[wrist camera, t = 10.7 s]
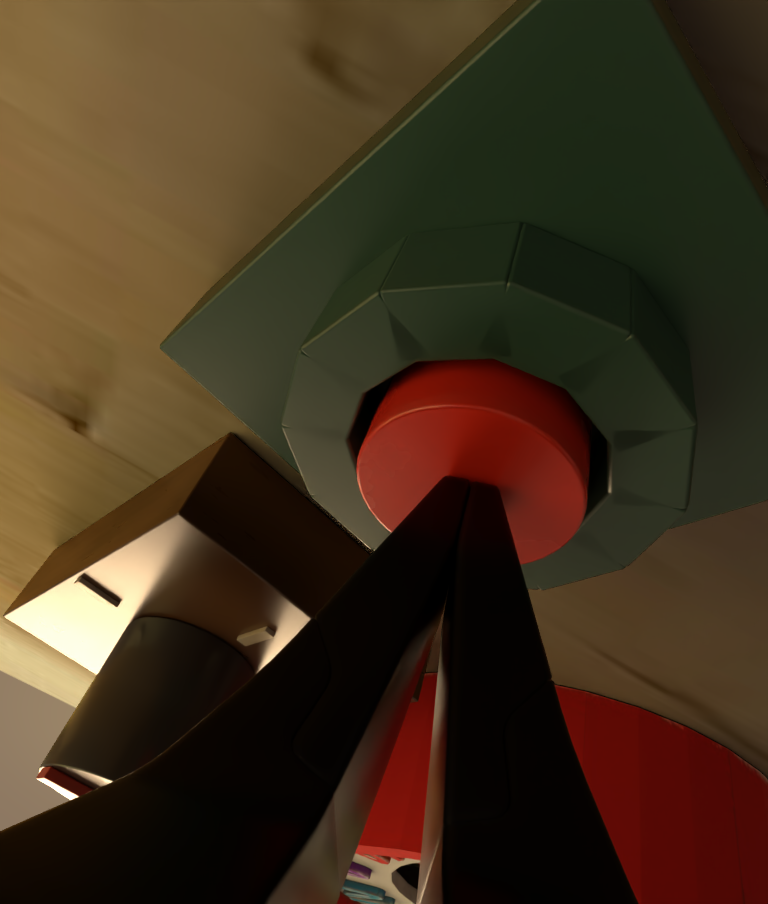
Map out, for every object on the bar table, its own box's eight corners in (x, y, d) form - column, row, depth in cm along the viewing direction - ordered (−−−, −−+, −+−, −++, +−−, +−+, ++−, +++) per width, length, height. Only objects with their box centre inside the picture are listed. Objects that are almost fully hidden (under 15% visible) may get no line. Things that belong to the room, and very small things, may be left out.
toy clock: (458, 806, 16) (981, 1080, 20) (493, 605, 20) (922, 867, 24) (200, 870, 30) (542, 1024, 34) (252, 743, 34) (551, 895, 38)
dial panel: (230, 431, 18) (174, 517, 16) (439, 614, 21) (417, 707, 19) (54, 549, 25) (-1, 619, 23) (230, 672, 29) (197, 743, 26)
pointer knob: (281, 682, 21) (214, 850, 17) (204, 699, 23) (133, 847, 20) (172, 603, 19) (74, 773, 16) (103, 631, 22) (6, 781, 18)
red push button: (507, 294, 10) (489, 363, 8) (634, 453, 11) (634, 532, 10) (343, 395, 12) (310, 461, 11) (466, 517, 13) (449, 588, 12)
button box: (614, -92, 9) (608, -49, 6) (872, 379, 12) (944, 548, 9) (206, 292, 15) (108, 403, 12) (453, 532, 18) (421, 662, 15)
